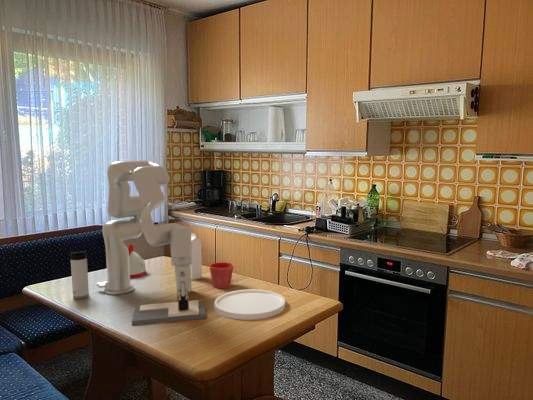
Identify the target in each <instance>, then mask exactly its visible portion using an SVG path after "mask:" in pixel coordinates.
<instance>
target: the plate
mask: <svg viewBox="0 0 533 400" xmlns="http://www.w3.org/2000/svg"><path fill="white" fill-rule="evenodd" d="M213 306H214V310H215V312H216V313H217V314H219V315H220V316H222V317H224V318H229V319H233V320H234V319H235V320H244V321H245V320H246V321H247V320H261V319H262V320H263V319H266V318H267V319H268V318H271V317H274V316H276V314H277V315H278V313H279V314H280V313H282V312H283V311H284V310H285V309H286V299H285V297H284V296H283V295H281V294H280V293H277V292H274V291H270V290H265V289H257V288H256V289H255V288H254V289H250V288H249V289H239V290H233V291H229V292H225V293H224V294H221V295H219V296H218V297H217V298H215V300H214V305H213ZM283 309H284V310H283ZM281 311H282V312H281ZM273 315H274V316H273Z"/></svg>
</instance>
